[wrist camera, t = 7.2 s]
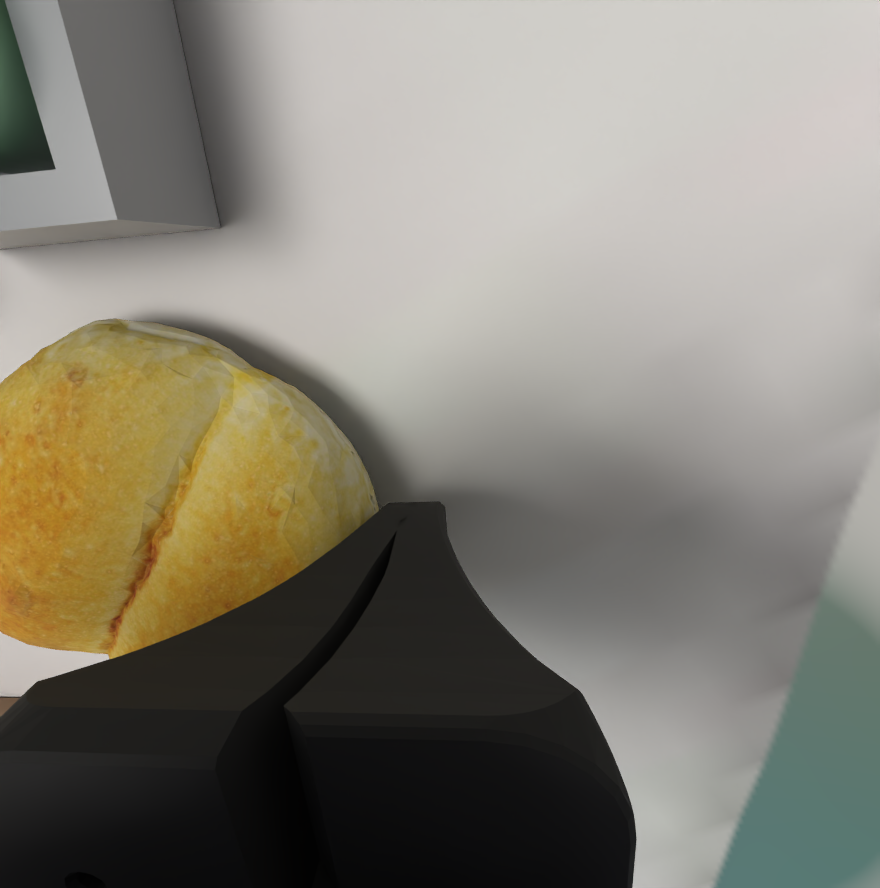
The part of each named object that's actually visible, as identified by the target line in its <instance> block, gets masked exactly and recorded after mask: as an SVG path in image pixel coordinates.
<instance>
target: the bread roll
mask: <svg viewBox="0 0 880 888" xmlns="http://www.w3.org/2000/svg"><path fill="white" fill-rule="evenodd" d="M378 511H379V508H378V504H377V500H376V496H375V492H374V489H373V486H372V483H371V481H370V478H369V475H368V473H367V471H366V469H365V467H364V465H363V463H362V461H361V459H360V457H359V456H358V454H357V452H356V450H355V449H354V447H353V446H352V444H351V442H350V441H349V440H348V439H347V437H346V436H345V435H344V434H343V432H342V431H341V430H340V429H339V428H338V427H337V426H336V424H335V423H334V422H333V421H332V420H331V419H330V418H329V417H328V415H327V414H326V413H325V412H324V411H323V410H321V409H320V408H319V407H318V406H317V405H316V404H315V403H314V402H313V401H312V400H310V399H309V398H308V397H306V396H305V394H304V393H302V392H301V391H299V390H298V389H297V388H295V387H294V386H291V385H289V384H287V383H285V382H283V381H282V380H280V379H278V378H277V377H275V376H272V375H269V374H268V373H266V372H264V371H262V370H260V369H256V368H253V367H252V366H251V365H250V364H248V363H247V362H246V361H245V360H243V359H242V358H241V357H239V356H238V355H236V354H235V353H234V352H233V351H232V350H231V349H229V348H227V347H225V346H223V345H221V344H219V343H218V342H216V341H214V340H212V339H209V338H207V337H205V336H202V335H199V334H196V333H193V332H189V331H186V330H183V329H178V328H174V327H170V326H166V325H163V324H159V323H155V322H139V321H128V320H121V319H107V320H99V321H94V322H92V323H90V324H87V325H85V326H83V327H81V328H78V329H76V330H74V331H73V332H71V333H69V334H68V335H67V336H65V337H63V338H62V339H60V340H58V341H57V342H55V343H53V344H52V345H50V346H47V347H45V348H43V349H41V350H40V351H39V352H38V353H37V354H36V355H35V356H34V357H33V358H32V359H31V360H29V361H27V362H26V363H24V364H23V365H21V366H20V367H19V368H18V369H17V370H16V371H15V372H13V373H12V374H11V375H9V376H8V377H7V378H5V379H4V381H3V382H2V383H1V384H0V631H1V632H2V633H3V634H6V635H8V636H10V637H13V638H15V639H17V640H19V641H22V642H24V643H26V644H29V645H34V646H39V647H44V648H50V649H55V650H67V651H81V652H89V653H99V654H100V653H103V654H108V655H109V659H112V658H115V657H119V656H122V655H125V654H127V653H130V652H133V651H136V650H139V649H142V648H144V647H147V646H149V645H152V644H155V643H157V642H160V641H162V640H165V639H168V638H170V637H173V636H175V635H178V634H180V633H183V632H185V631H187V630H190V629H192V628H195V627H197V626H199V625H201V624H204V623H206V622H208V621H210V620H212V619H214V618H216V617H218V616H220V615H222V614H225V613H227V612H229V611H231V610H233V609H235V608H237V607H239V606H241V605H243V604H245V603H247V602H249V601H251V600H253V599H255V598H257V597H259V596H260V595H262V594H264V593H266V592H267V591H269V590H271V589H273V588H274V587H276V586H278V585H279V584H281V583H283V582H285V581H286V580H288V579H289V578H291V577H293V576H294V575H296V574H297V573H299V572H300V571H302V570H303V569H305V568H306V567H308V566H309V565H310V564H312V563H313V562H314V561H316V560H317V559H319V558H320V557H321V556H323V555H324V554H325V553H327V552H328V551H330V550H331V549H332V548H334V547H335V546H336V545H338V544H339V543H340V542H342V541H343V540H344V539H345V538H346V537H348V536H349V535H350V534H351V533H353V532H354V531H355V530H356V529H358V528H359V527H360V526H361V525H362V524H364V523H365V522H366V521H367V520H368V519H370V518H371V517H372V516H373V515H374V514H376V513H377V512H378Z"/></svg>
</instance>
